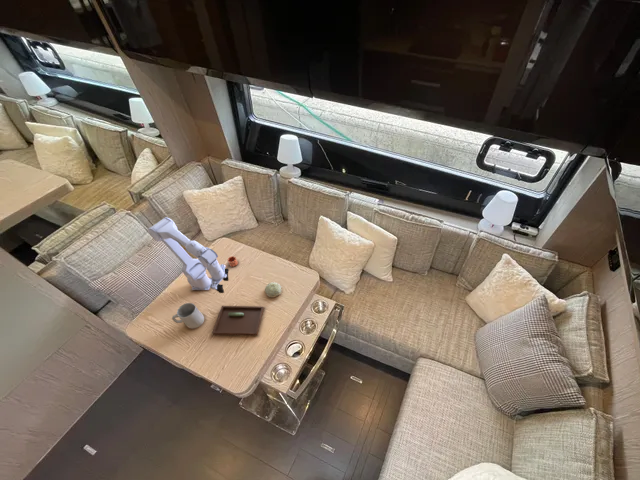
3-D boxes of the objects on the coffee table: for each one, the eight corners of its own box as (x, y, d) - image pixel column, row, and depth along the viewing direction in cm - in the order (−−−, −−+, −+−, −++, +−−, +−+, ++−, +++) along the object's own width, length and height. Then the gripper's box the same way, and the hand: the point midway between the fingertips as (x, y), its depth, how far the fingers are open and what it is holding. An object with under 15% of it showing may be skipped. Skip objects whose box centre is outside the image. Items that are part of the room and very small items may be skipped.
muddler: (227, 315, 141) (242, 315, 141) (228, 311, 143) (243, 311, 143) (228, 317, 143) (243, 317, 143) (229, 313, 144) (244, 313, 144)
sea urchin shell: (268, 300, 149) (262, 286, 147) (267, 298, 156) (262, 285, 155) (284, 293, 151) (279, 280, 150) (283, 292, 159) (278, 279, 158)
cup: (228, 266, 165) (226, 262, 162) (231, 260, 168) (228, 256, 165) (236, 266, 165) (234, 262, 162) (238, 260, 168) (236, 256, 165)
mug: (203, 311, 145) (195, 300, 136) (205, 325, 140) (196, 314, 131) (178, 319, 142) (168, 308, 133) (179, 333, 137) (168, 322, 128)
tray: (213, 334, 137) (212, 333, 135) (223, 307, 147) (221, 305, 145) (257, 335, 137) (256, 333, 136) (264, 308, 147) (263, 306, 146)
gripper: (218, 282, 128) (227, 298, 139) (227, 258, 138) (235, 275, 148) (203, 281, 128) (213, 297, 139) (213, 258, 138) (222, 275, 148)
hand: (224, 286), depth 143 cm, fingers open, 7 cm apart
